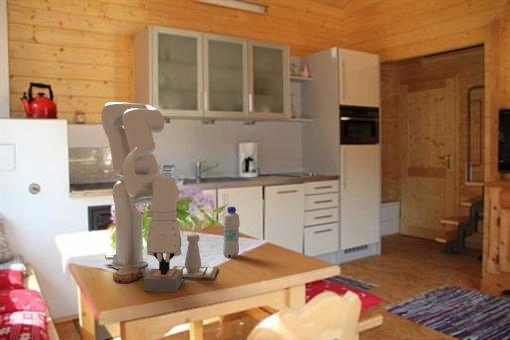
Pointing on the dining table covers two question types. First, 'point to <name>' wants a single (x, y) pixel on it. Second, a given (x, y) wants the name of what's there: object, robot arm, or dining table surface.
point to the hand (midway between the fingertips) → (164, 273)
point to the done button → (158, 274)
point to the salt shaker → (193, 254)
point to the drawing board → (199, 273)
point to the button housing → (163, 282)
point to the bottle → (231, 232)
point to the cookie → (127, 275)
